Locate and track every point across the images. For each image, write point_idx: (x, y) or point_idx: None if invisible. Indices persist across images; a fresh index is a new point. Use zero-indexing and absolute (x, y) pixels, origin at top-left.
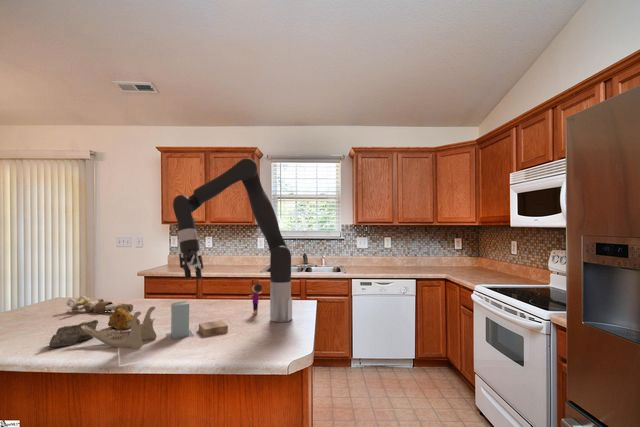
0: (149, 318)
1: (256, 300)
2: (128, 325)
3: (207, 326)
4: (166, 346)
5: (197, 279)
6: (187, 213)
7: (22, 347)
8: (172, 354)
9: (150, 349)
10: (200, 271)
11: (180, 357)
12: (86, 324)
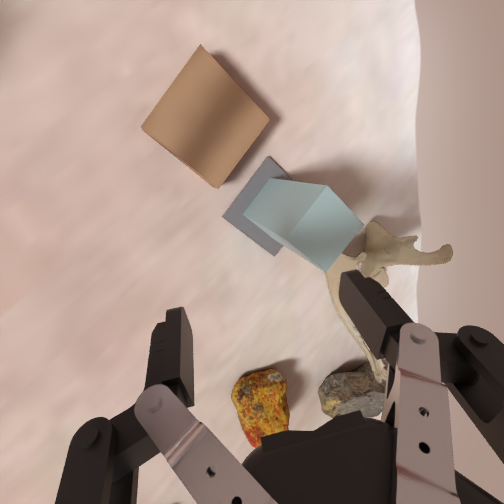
0: (361, 272)
1: None
2: (278, 372)
3: (237, 130)
4: (341, 180)
5: (190, 326)
6: None
7: None
8: (380, 122)
9: (362, 201)
10: (175, 360)
11: (393, 86)
12: (367, 391)
